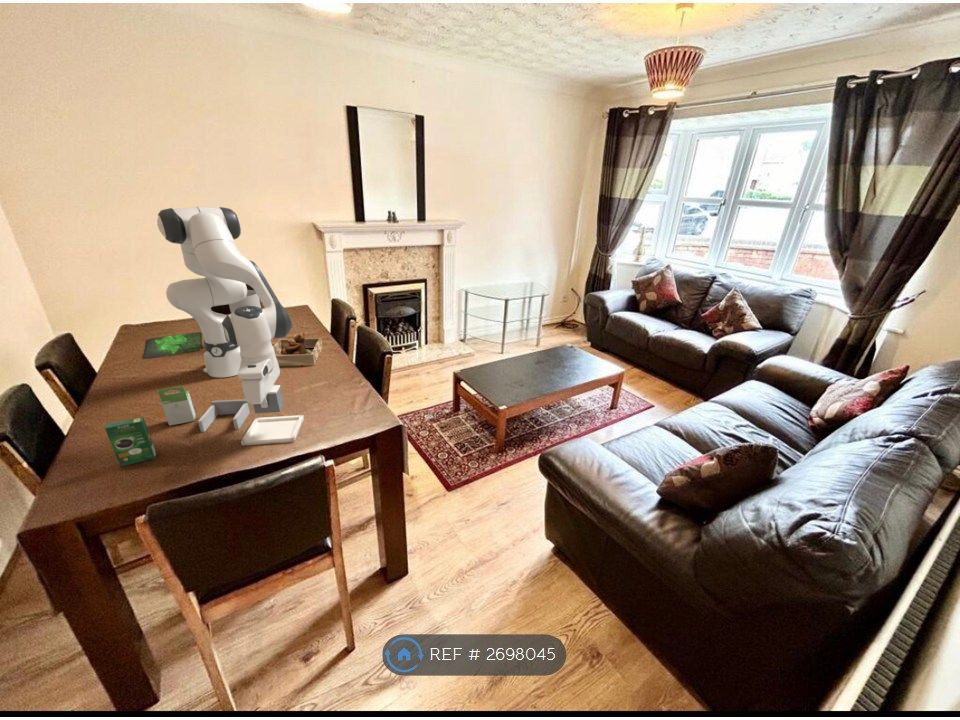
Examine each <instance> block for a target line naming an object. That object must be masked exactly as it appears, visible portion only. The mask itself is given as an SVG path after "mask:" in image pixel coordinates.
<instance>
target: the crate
mask: <svg viewBox="0 0 960 720" xmlns="http://www.w3.org/2000/svg"><path fill="white" fill-rule="evenodd" d="M288 340H289V341H290V340H293V338H278V340H277V341H276V342H275V344H274V345H272V346H273V348H274V351H275V356H276V358H277V361H278V364H279V367H297V366H298V367H300V366H301V365H303V366H315V365H316V362H317V361H316V360H318V359H317V358H319V357H318V356H320V355H321V352H322V350H323V348H324V347H323V340H322V337H311V338H308V337H307V338H306V337H305V340H304V344H305V348H314V349H312V350H311V352H312V353H311V354H293V355H282V354H281V353H280V352H281V351H282V349H284V348H285V347H286V346H287V345H288V344H289V343H288ZM322 347H323V348H322ZM321 349H322V350H321ZM279 353H280V354H279ZM301 367H302V366H301Z"/></svg>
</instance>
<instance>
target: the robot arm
mask: <svg viewBox="0 0 960 720" xmlns="http://www.w3.org/2000/svg"><path fill="white" fill-rule="evenodd" d="M156 223H157V227H158V230H159V233H161V235H162V236H163V237H164V238H165V240H166V241H167V242H170V243H171V244H172V243H173V244H177V245H180V249H181V252H182V253H181V254H182V257H183V263H184V265H185V267H186V268H187V269H188V270H189V271H190V272H191V273H193V274H196V275H198V276H201V277H200V278H191V279H182V280H179V281H175V282H171V283H169V284H168V285H167V288H166V291H165V293H166V294H165V295H166V299H167V301H168V302H169V303H170V305H171V306H172V307H174V308H176V309H178V310H180V311H183V312H184V313H186V314H188V315H190V316H191V317H192V318H193V319H194V320H195V321H196V323H197V324H198V326H199V328H200V332H201V335H202V338H203V347H204V349H205V352H204V353H203V357H204V358H203V359H204V364H205V367H204V368H203V373H205V374H208V375H209V376H210V377H212V378H228V377H234V376H237V378H238V380H241V389H242V393H243V395H244V399H246V401H247V403H248V404H249V405H253V404H261V407H262V408H267V407H268V405H269V402H268V400H266V395H267V394H268V392H269V391H270V389H271V388H272V386H273V385H276V384H275V383H276V381H277V380H278V378H279V376H280V375H281V369H280V366H279V364H278V361H277V358H276V356H275V351H274V348H273V346H274V345H273V343H272V339H273V340H276V339H285V338H286V337H287V335H288V334H289V333H290V332H291V330H292V329H293V323H292V318H291V317H290V315H289V313H288V311H287V310H286V308H285V307H284V306H283V305H282V303H281V302H280V300H279V299H278V297H277V295H276V294H275V292H274V290H273V289H272V287H271V286H270V283H269V281H268V280H267V278H266V277H265V275H264V273H263V272H262V270H260V268H259V266H258V265H257V264H256V262H254V261H253V260H250V259H248V258H247V257H246V256H244V255H243V254H242V252H241V251H240V250H239V249H238V247H237V245H236V242H235V240H236V239H237V240H238V238H240V236H241V231H242V224H241V220H240V218H239V216H238V215H237V213H236V212H235V211H234V210H232V209H231V208H228V207H224V206H220V207H214V206H191V207H190V206H189V207H181V208H180V207H179V208H173V207H171V208H165V209H161V210H160V211H159V212H158V214H157V220H156ZM247 285H248V286H250V287H251V288H252V289H253V291H255V292H256V294H257V295H258V297H259V300H260V303H261V304H262V305H263V308H262V307H261V308H259V307H256V306H243V307H239V308H237V309H236V310H234V312H233V314H231V313H230V314H224V313H219V312H215V311H213V310H212V307H217V306H225V305H229V304H232V303H236V302H239V301H242V300H244V299H245V297H246V295H247V290H248V288H247Z"/></svg>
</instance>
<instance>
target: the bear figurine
mask: <svg viewBox="0 0 960 720" xmlns="http://www.w3.org/2000/svg"><path fill="white" fill-rule="evenodd" d="M305 338H306V337H305V332H302V333H298V334H295V335H293V336H292V339H293V340H290V341H289V340H288V343H289V344H288V345H287V346H286V347H285V348H284V349H282V351H281V352H280V355H293V354H311V353H312V350H310V349H305V344H304V340H305Z"/></svg>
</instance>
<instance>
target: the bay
mask: <svg viewBox="0 0 960 720" xmlns="http://www.w3.org/2000/svg"><path fill="white" fill-rule="evenodd" d="M210 403H211V405H210V407H209V408H208V409H207V410H206V412H205V413H203V415H202V416H201V417H200V418H199V419H198V420H197V423H198V427H199V430H200V433H204V432H206V431H207V430H208V429H209V427H210V425H212V423H213V422H214V421H215V419H216V418H217V416H219V415H221V416H223V415H234V417H233V418H232V421H233V425H234V430H237V431H238V430H240V429H241V428H242V426H243V424H244V423H245V421H246V420H247V418H248V417H249V415H250V413H251V407H250V404H248V403H247V401H246V399H245V398H244V399H241V398H240V399H224V400H223V399H221V400H212V401H211V402H210Z"/></svg>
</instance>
